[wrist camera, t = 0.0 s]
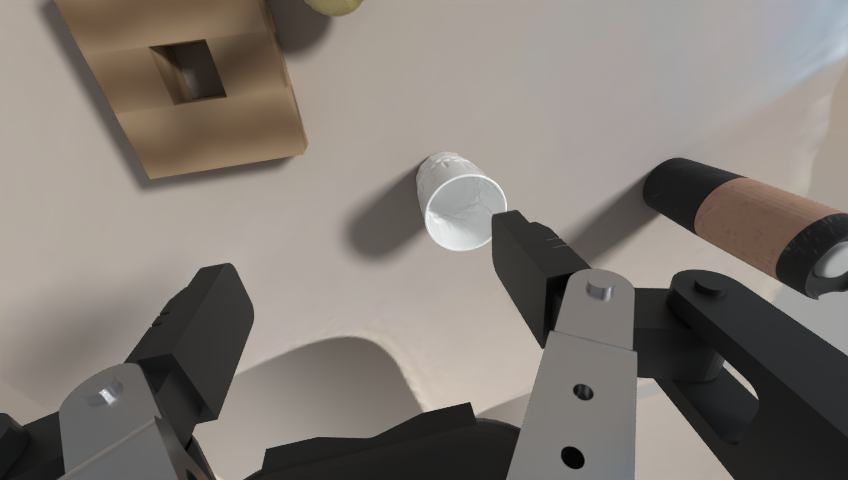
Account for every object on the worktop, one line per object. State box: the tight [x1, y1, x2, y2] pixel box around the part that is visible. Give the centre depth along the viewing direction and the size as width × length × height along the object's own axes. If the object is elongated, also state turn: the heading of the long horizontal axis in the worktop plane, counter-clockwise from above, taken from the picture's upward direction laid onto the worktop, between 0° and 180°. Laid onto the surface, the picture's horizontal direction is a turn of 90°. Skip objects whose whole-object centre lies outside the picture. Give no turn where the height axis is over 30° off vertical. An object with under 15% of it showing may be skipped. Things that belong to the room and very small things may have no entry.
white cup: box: [416, 152, 507, 251], centre depth 37 cm, size 8×8×10 cm
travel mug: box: [643, 158, 848, 300], centre depth 38 cm, size 8×8×20 cm
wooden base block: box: [54, 0, 308, 179], centre depth 31 cm, size 16×14×4 cm
